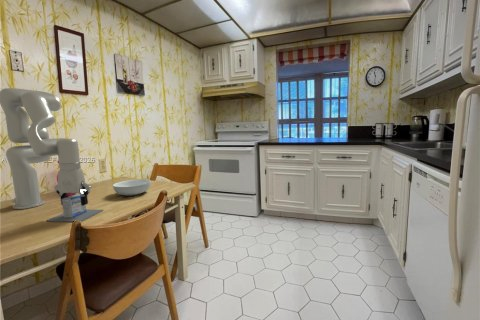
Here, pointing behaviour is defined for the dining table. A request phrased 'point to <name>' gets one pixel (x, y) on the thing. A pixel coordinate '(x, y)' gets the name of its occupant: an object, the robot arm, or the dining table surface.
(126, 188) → the serving bowl
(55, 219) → the slate mat
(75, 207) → the medicine box
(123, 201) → the dining table surface
